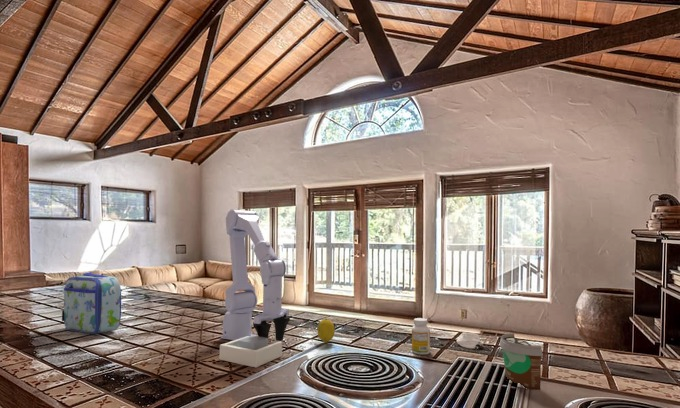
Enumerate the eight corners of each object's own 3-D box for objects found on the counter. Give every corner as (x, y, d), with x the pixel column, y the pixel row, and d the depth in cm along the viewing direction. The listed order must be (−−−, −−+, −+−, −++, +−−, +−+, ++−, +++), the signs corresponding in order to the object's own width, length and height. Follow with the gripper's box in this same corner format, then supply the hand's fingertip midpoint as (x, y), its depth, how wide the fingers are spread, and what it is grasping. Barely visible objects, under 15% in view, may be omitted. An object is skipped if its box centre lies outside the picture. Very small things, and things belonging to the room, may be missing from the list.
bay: (219, 359, 107) (219, 344, 107) (247, 349, 117) (247, 335, 117) (255, 367, 100) (256, 352, 101) (282, 356, 110) (282, 341, 110)
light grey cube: (237, 358, 108) (238, 340, 108) (253, 352, 114) (253, 335, 114) (253, 361, 105) (253, 343, 105) (268, 355, 111) (269, 337, 111)
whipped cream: (453, 348, 121) (451, 333, 122) (463, 342, 126) (461, 327, 126) (477, 351, 116) (475, 335, 116) (486, 345, 121) (484, 329, 121)
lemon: (332, 346, 120) (332, 320, 121) (315, 345, 121) (315, 319, 122) (336, 341, 125) (336, 316, 126) (319, 340, 126) (320, 316, 127)
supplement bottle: (418, 348, 118) (418, 316, 118) (433, 352, 114) (433, 319, 115) (408, 352, 114) (408, 319, 115) (423, 356, 110) (423, 322, 111)
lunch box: (57, 329, 142) (60, 273, 144) (88, 323, 151) (91, 270, 153) (90, 339, 128) (94, 276, 130) (123, 332, 137) (126, 274, 139)
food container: (491, 373, 96) (489, 333, 97) (514, 372, 96) (512, 332, 97) (518, 393, 84) (516, 347, 85) (544, 392, 84) (542, 346, 85)
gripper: (267, 303, 109) (266, 351, 108) (296, 296, 122) (296, 339, 121) (248, 301, 113) (247, 347, 112) (279, 294, 125) (278, 336, 124)
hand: (271, 343), depth 116 cm, fingers open, 7 cm apart
